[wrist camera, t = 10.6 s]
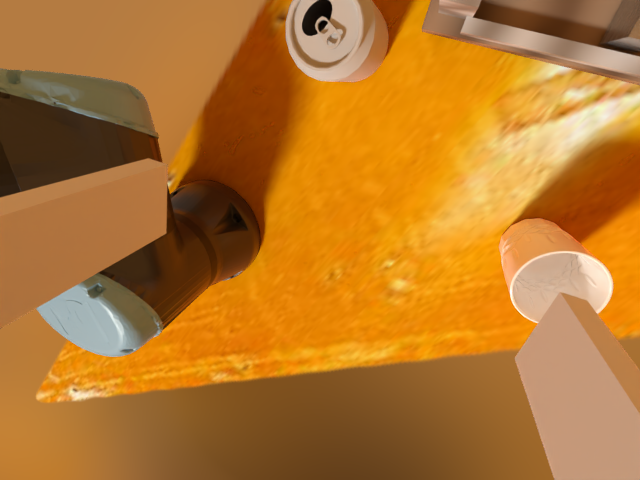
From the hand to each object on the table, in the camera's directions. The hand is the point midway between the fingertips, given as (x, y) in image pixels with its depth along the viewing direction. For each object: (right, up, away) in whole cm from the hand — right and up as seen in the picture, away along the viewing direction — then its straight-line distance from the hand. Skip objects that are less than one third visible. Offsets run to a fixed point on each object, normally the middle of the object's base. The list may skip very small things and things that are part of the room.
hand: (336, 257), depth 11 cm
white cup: (+24, 0, +28) cm, 37 cm away
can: (+3, +22, +25) cm, 33 cm away
